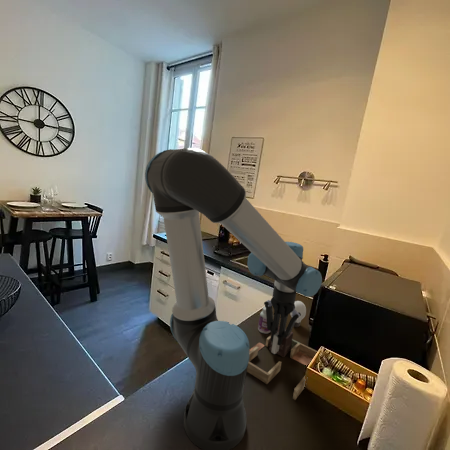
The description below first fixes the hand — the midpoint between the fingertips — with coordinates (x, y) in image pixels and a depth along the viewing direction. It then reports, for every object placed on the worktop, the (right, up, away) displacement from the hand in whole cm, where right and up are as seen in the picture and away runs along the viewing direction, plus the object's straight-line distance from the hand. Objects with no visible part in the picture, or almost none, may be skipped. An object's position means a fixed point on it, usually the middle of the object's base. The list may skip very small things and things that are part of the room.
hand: (274, 351), depth 92 cm
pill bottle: (-1, +1, +16) cm, 16 cm away
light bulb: (+13, 0, +23) cm, 27 cm away
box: (+2, -2, +4) cm, 5 cm away
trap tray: (+1, -2, -3) cm, 4 cm away
